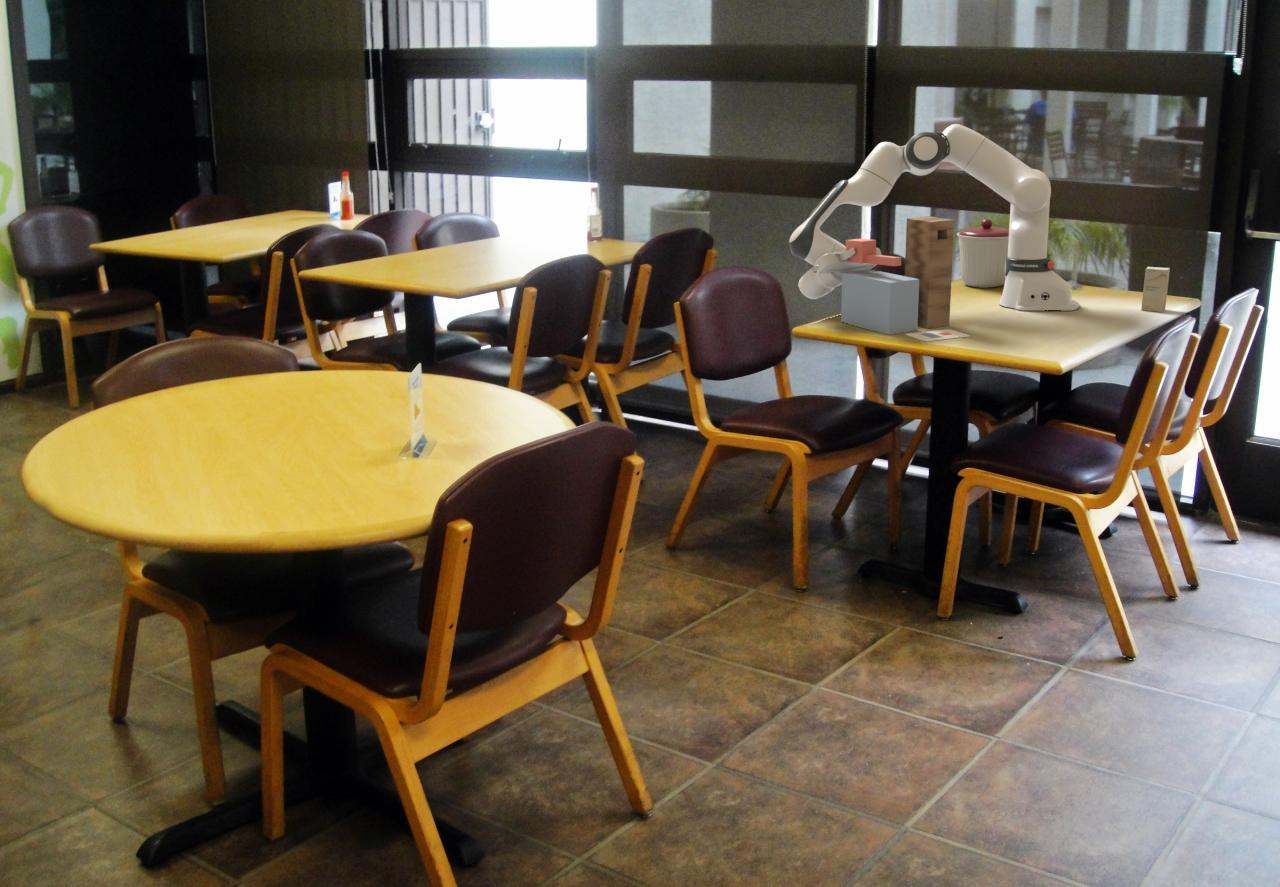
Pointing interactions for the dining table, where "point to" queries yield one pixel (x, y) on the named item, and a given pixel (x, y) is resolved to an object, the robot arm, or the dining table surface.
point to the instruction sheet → (937, 335)
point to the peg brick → (869, 253)
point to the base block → (880, 301)
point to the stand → (931, 267)
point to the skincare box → (1155, 289)
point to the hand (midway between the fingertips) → (864, 249)
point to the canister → (983, 255)
